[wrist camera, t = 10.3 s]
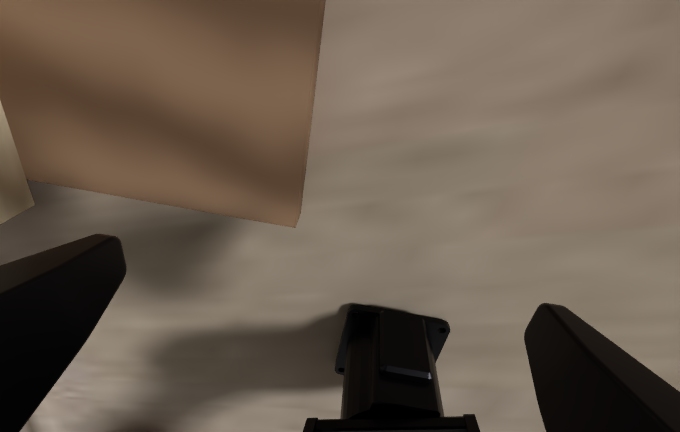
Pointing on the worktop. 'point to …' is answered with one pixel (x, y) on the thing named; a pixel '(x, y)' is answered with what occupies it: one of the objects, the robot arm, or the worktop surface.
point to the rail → (11, 176)
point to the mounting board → (165, 99)
